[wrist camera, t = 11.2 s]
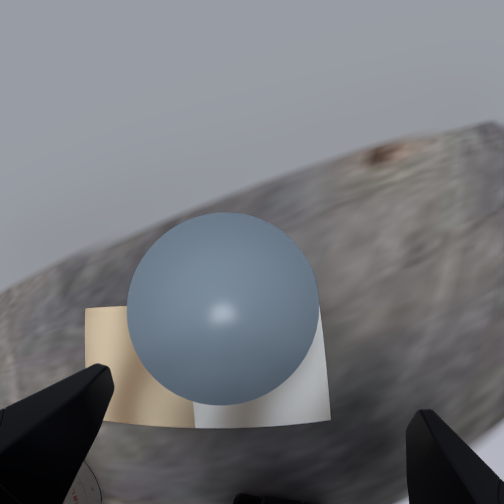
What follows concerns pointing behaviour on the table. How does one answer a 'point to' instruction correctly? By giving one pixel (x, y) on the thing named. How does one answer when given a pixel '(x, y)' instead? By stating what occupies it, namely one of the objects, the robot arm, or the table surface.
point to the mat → (189, 412)
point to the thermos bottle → (84, 488)
